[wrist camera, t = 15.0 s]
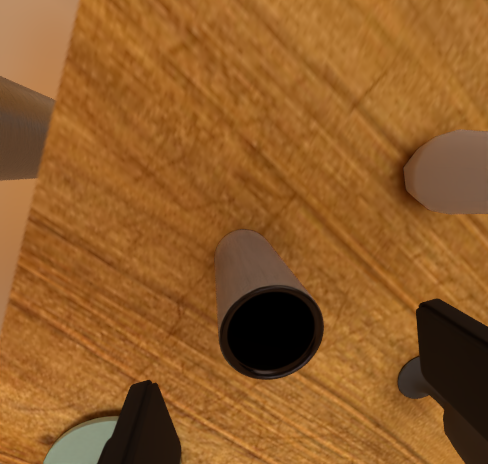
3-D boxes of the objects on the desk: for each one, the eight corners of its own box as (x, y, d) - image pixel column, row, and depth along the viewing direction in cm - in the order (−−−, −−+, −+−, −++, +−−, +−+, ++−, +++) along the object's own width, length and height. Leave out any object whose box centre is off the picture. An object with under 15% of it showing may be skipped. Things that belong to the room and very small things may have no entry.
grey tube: (210, 232, 20) (212, 294, 10) (269, 225, 21) (323, 277, 11) (217, 287, 21) (225, 389, 12) (273, 279, 22) (326, 371, 12)
